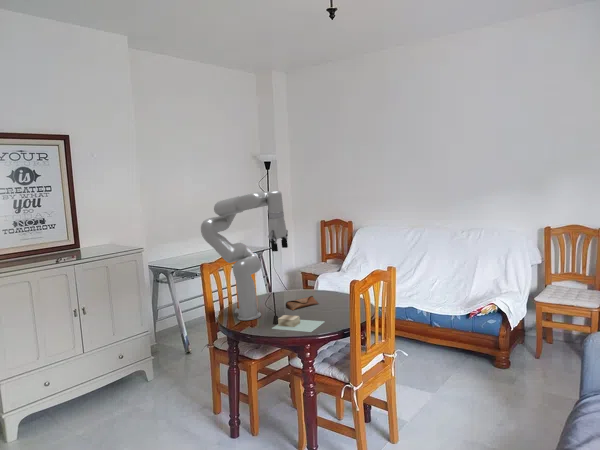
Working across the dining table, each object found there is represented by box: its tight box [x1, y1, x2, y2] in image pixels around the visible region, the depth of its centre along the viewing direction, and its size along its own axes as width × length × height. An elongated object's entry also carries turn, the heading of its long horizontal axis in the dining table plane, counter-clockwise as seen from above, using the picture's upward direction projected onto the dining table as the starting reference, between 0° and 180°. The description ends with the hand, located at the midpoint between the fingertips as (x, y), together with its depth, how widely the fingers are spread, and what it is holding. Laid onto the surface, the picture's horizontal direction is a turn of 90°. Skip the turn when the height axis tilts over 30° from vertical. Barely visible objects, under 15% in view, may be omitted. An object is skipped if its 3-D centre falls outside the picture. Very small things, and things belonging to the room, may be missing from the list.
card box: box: [277, 314, 301, 327], centre depth 227 cm, size 9×6×4 cm, turn 61°
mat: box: [271, 319, 326, 333], centre depth 225 cm, size 22×15×1 cm
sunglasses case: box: [285, 295, 320, 311], centre depth 259 cm, size 18×7×7 cm
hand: (280, 249), depth 232 cm, fingers open, 9 cm apart
